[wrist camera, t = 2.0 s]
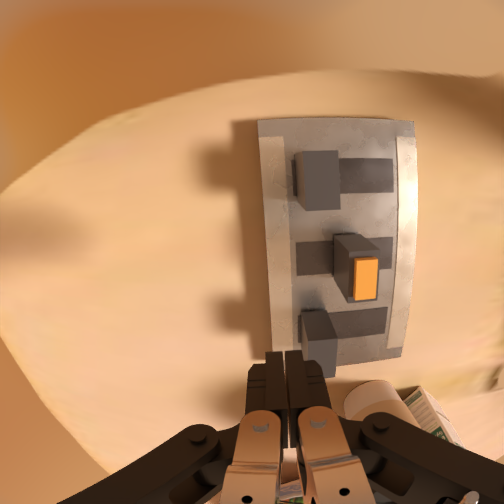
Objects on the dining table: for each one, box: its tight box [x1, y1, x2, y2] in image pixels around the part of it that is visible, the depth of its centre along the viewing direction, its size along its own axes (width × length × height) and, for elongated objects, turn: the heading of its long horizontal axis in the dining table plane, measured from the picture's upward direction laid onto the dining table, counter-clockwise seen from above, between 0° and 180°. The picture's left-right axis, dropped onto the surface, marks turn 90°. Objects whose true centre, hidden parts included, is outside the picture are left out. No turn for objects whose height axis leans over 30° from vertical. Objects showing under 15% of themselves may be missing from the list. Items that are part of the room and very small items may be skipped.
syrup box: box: [403, 386, 467, 450], centre depth 27 cm, size 6×6×14 cm
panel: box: [257, 118, 418, 371], centre depth 27 cm, size 14×24×2 cm, turn 4°
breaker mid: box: [334, 234, 380, 304], centre depth 24 cm, size 2×4×6 cm, turn 4°
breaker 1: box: [295, 150, 341, 211], centre depth 22 cm, size 2×4×5 cm, turn 5°
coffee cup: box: [344, 380, 421, 504], centre depth 27 cm, size 9×9×15 cm
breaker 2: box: [301, 310, 338, 378], centre depth 26 cm, size 2×4×5 cm, turn 4°
